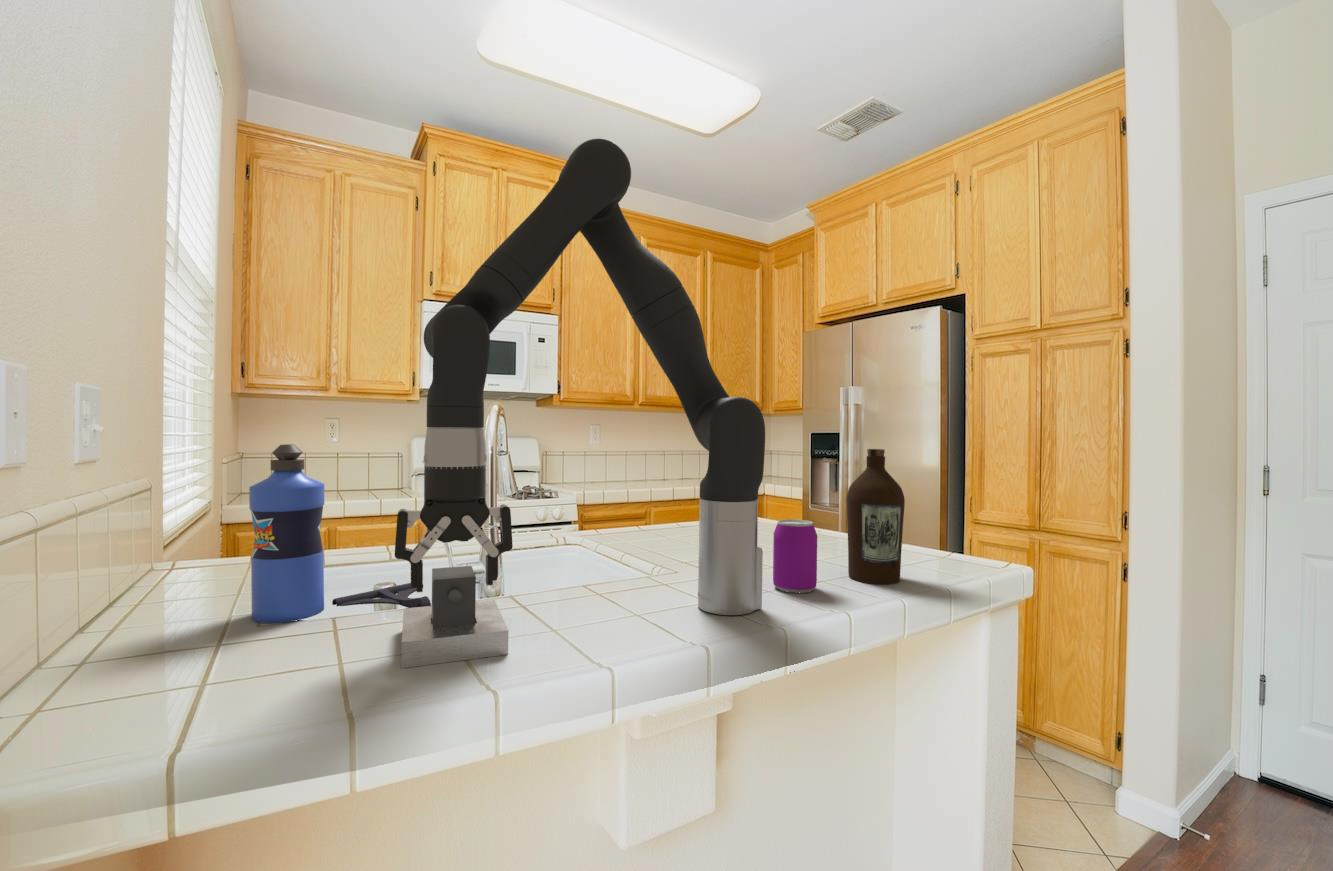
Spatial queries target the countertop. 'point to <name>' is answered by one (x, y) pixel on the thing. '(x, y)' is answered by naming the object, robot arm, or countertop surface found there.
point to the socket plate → (452, 637)
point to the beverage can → (795, 556)
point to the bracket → (385, 597)
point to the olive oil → (875, 523)
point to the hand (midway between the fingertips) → (454, 587)
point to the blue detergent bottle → (287, 542)
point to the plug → (453, 596)
